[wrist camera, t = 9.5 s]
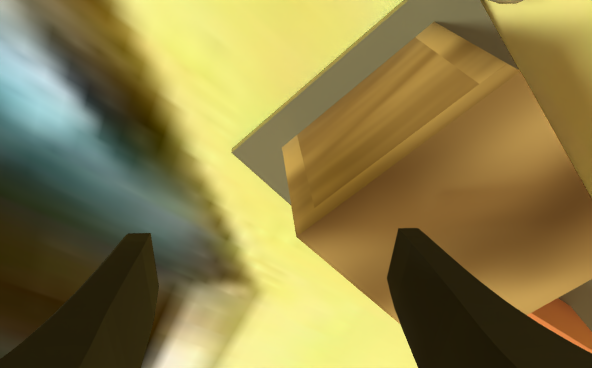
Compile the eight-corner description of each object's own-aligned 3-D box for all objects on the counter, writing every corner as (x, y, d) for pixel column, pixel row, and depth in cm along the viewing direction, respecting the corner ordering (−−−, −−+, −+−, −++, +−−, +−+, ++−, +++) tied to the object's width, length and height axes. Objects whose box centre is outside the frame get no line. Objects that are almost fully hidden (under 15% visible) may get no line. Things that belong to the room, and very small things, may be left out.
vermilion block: (428, 283, 28) (461, 348, 24) (475, 243, 26) (519, 305, 22) (525, 338, 32) (568, 402, 28) (570, 306, 31) (622, 369, 26)
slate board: (232, 148, 22) (231, 152, 21) (452, -43, 18) (456, -42, 18) (496, 384, 36) (498, 389, 36) (648, 306, 32) (653, 310, 32)
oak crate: (281, 147, 21) (296, 236, 15) (433, 21, 19) (520, 71, 13) (399, 261, 26) (444, 361, 21) (531, 174, 24) (625, 259, 18)
